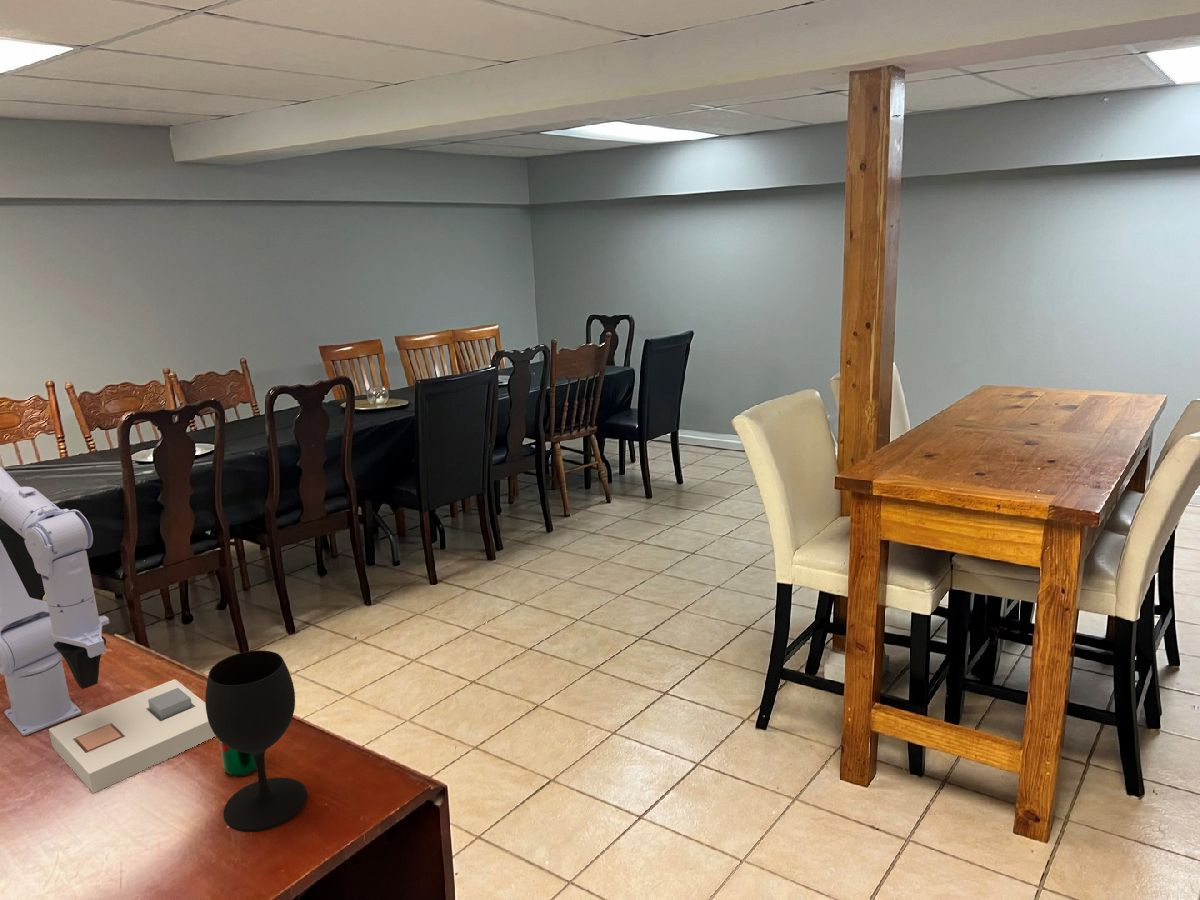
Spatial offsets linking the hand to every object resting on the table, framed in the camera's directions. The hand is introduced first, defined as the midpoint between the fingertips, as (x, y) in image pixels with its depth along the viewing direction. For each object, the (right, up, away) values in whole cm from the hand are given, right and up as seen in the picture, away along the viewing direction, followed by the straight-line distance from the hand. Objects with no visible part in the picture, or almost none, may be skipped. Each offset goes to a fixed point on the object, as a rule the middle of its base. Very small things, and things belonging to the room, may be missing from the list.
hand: (88, 684), depth 125 cm
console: (+6, -9, +3) cm, 11 cm away
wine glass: (+30, -13, -12) cm, 35 cm away
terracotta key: (+2, -8, -1) cm, 9 cm away
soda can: (+24, -11, -4) cm, 26 cm away
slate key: (+9, -5, +6) cm, 12 cm away
